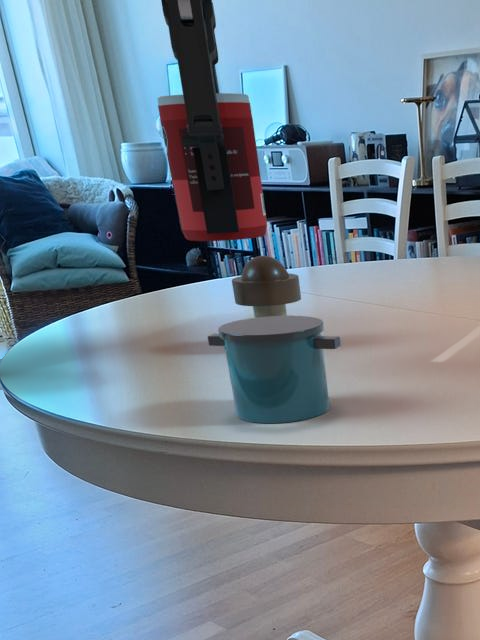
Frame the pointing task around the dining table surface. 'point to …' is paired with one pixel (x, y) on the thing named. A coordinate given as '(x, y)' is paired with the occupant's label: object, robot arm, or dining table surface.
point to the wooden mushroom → (266, 287)
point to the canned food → (240, 161)
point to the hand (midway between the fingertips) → (224, 228)
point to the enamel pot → (276, 367)
